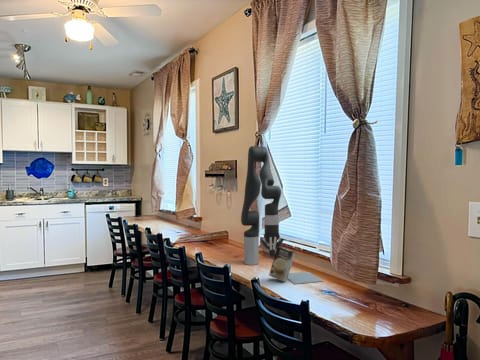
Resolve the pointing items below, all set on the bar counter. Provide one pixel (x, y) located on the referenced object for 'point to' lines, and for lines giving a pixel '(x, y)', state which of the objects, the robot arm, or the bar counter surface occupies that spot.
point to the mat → (303, 278)
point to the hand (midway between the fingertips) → (272, 256)
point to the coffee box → (282, 263)
